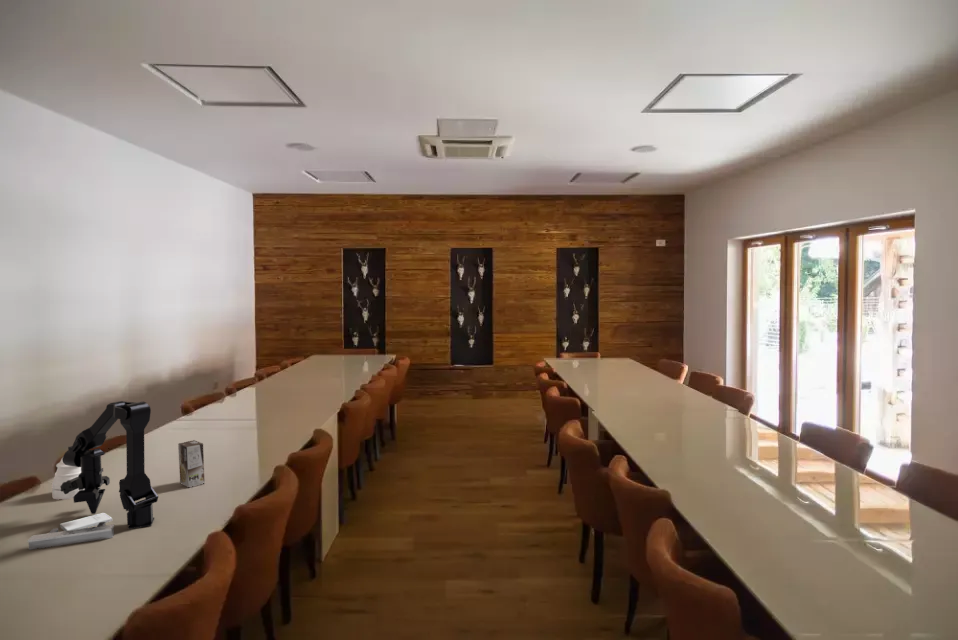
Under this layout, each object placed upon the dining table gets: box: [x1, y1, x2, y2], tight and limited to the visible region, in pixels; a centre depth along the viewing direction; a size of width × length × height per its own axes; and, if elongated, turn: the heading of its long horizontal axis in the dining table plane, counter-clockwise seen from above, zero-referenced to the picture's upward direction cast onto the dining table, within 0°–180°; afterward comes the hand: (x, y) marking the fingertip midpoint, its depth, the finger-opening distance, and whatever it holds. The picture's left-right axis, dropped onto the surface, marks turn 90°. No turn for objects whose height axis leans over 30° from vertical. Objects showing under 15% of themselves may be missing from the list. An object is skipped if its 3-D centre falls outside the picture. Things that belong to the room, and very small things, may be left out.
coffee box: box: [177, 439, 205, 488], centre depth 223 cm, size 9×6×16 cm
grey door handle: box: [27, 522, 115, 551], centre depth 174 cm, size 21×9×3 cm, turn 111°
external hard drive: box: [59, 512, 113, 531], centre depth 185 cm, size 2×8×12 cm
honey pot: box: [51, 456, 85, 500], centre depth 214 cm, size 13×13×18 cm
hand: (93, 513), depth 192 cm, fingers closed
